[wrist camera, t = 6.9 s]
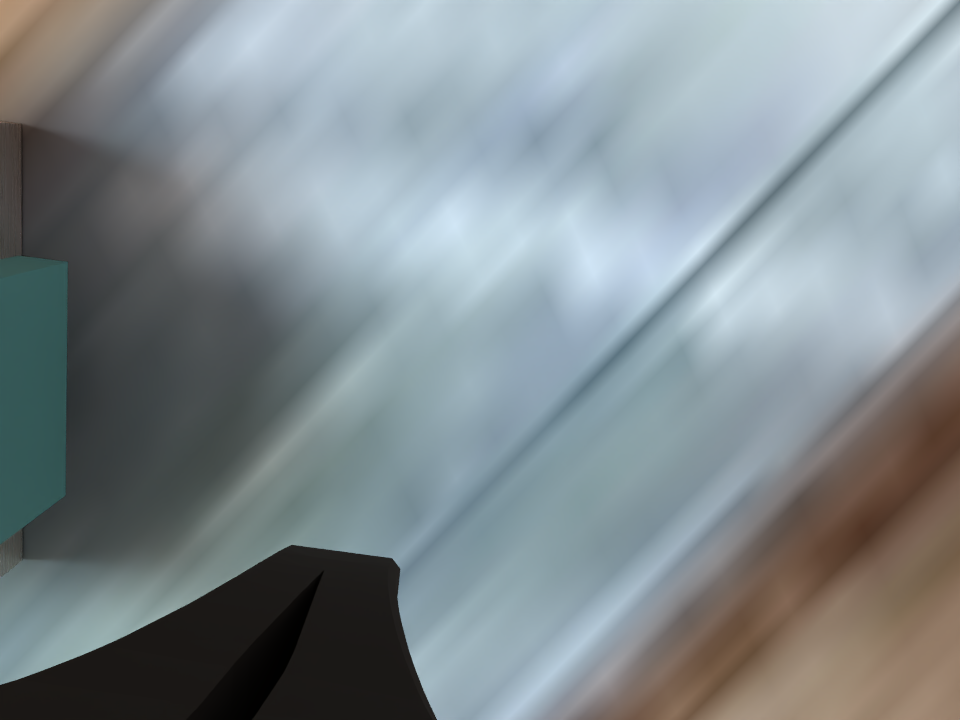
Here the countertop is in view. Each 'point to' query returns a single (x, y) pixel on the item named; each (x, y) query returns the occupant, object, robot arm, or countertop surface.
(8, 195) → the block
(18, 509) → the shaft
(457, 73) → the countertop surface
